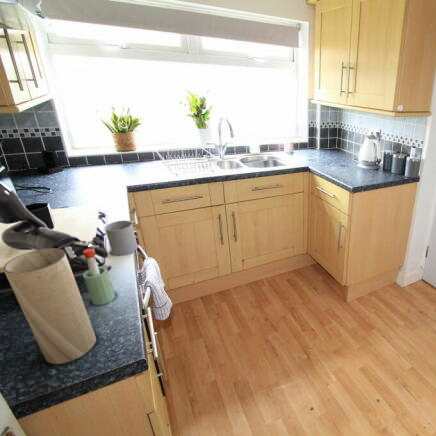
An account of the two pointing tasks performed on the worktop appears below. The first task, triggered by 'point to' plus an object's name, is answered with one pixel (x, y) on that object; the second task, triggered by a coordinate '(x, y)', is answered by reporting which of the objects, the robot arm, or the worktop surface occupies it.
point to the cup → (121, 237)
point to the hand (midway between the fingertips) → (96, 258)
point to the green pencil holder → (99, 286)
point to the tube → (51, 303)
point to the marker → (91, 262)
